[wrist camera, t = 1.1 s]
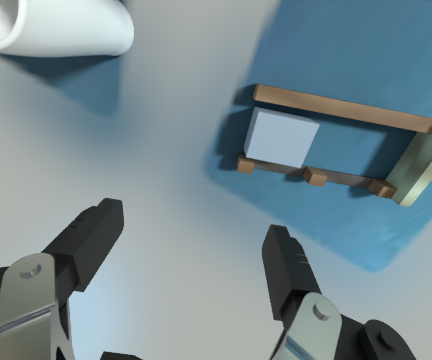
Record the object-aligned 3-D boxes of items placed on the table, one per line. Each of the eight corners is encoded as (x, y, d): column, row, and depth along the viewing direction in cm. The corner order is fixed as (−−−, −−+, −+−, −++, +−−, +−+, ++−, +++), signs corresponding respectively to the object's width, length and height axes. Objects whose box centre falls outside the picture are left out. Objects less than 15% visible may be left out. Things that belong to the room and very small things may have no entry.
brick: (254, 106, 26) (258, 111, 22) (306, 117, 26) (319, 124, 22) (243, 146, 28) (246, 157, 25) (291, 156, 29) (300, 168, 25)
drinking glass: (82, 53, 23) (-104, 29, 10) (79, -23, 20) (-194, -200, 7) (139, 71, 24) (35, 70, 11) (146, 0, 21) (9, -123, 8)
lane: (255, 83, 24) (261, 85, 21) (438, 119, 25) (472, 127, 22) (236, 164, 29) (237, 176, 26) (388, 191, 30) (409, 206, 27)
